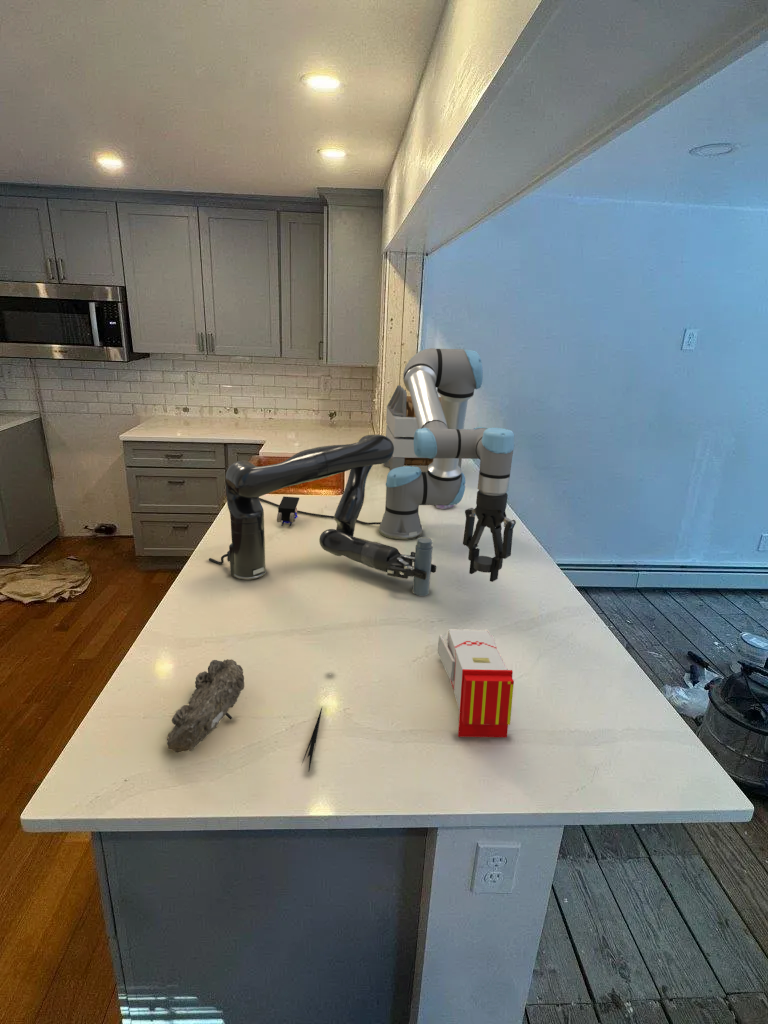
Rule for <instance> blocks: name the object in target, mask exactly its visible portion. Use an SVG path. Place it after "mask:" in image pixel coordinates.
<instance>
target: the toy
mask: <svg viewBox="0 0 768 1024" xmlns="http://www.w3.org/2000/svg"><path fill="white" fill-rule="evenodd" d="M446 640H447V643H446V641H445V639H444V636H443V635H442V634H439V637H438V646H437V656H438V657H439V659H440V661H441V663H442V666H443V668H444V670H445V672H446V674H447V677H448V679H449V681H450V684H451V687H452V690H453V693H454V697H455V701H456V705H457V708H458V711H459V714H458V715H459V716H458V730H457V731H458V732H457V737H458V738H508V731H509V726H510V725H511V717H512V707H513V697H514V696H513V695H514V684H515V680H514V679H513V673H514V671H513V670H512V669H508V667H507V665H506V662H505V661H504V659H503V658H502V655H501V653H500V651H499V649H498V647H497V643H496V639H495V637H494V635H493V634H491V632H490V631H489V629H467V628H466V629H465V628H463V629H461V628H460V629H459V628H448V630H447V639H446Z"/></svg>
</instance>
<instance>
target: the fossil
mask: <svg viewBox="0 0 768 1024" xmlns="http://www.w3.org/2000/svg"><path fill="white" fill-rule="evenodd" d="M243 670H244V669H243V667H242V665H240V664H237V662H236V661H235V660H234V659H232V658H231V659H227V658H226V659H224V660H223V661H222V660H217V659H212V660H211V661H210V663H209V665H208V666H207V671H201V672H199V673H198V674H197V675H196V676H195V680H194V684H195V685H194V687H195V689H194V690H193V693H192V694H191V697H190V698H189V700H188V704H184V705H182V706H181V707H180V709H177V710H176V711H175V713H174V715H173V716H172V718H171V723H172V724H173V727H172V730H171V731H170V732H168V734H167V738H166V741H167V742H166V745H167V749H168V750H169V751H173V752H174V753H176V754H178V753H182V752H188V751H189V752H192V751H193V750H195V748H196V747H197V746H199V744H200V743H201V742H203V741H204V740H205V739H206V738H207V737H208V736H209V735H210V734H211V733H212V732H214V730H215V729H217V727H218V726H219V724H220V722H221V721H222V720H223V719H224V718H225V716H226V717H227V719H229V720H233V717H232V715H230V714H229V710H230V709H231V708H234V706H235V704H236V703H237V702H238V699H239V697H240V695H241V693H242V691H243V690H245V689H244V688H245V675H244V671H243Z"/></svg>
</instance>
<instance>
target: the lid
mask: <svg viewBox="0 0 768 1024" xmlns="http://www.w3.org/2000/svg"><path fill="white" fill-rule="evenodd" d="M492 558H493V557H491V556H487V555H479V556H477V557H475V558H474V565H473V568H474V569H475V570H477V572H480V573H491V565H492Z"/></svg>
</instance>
